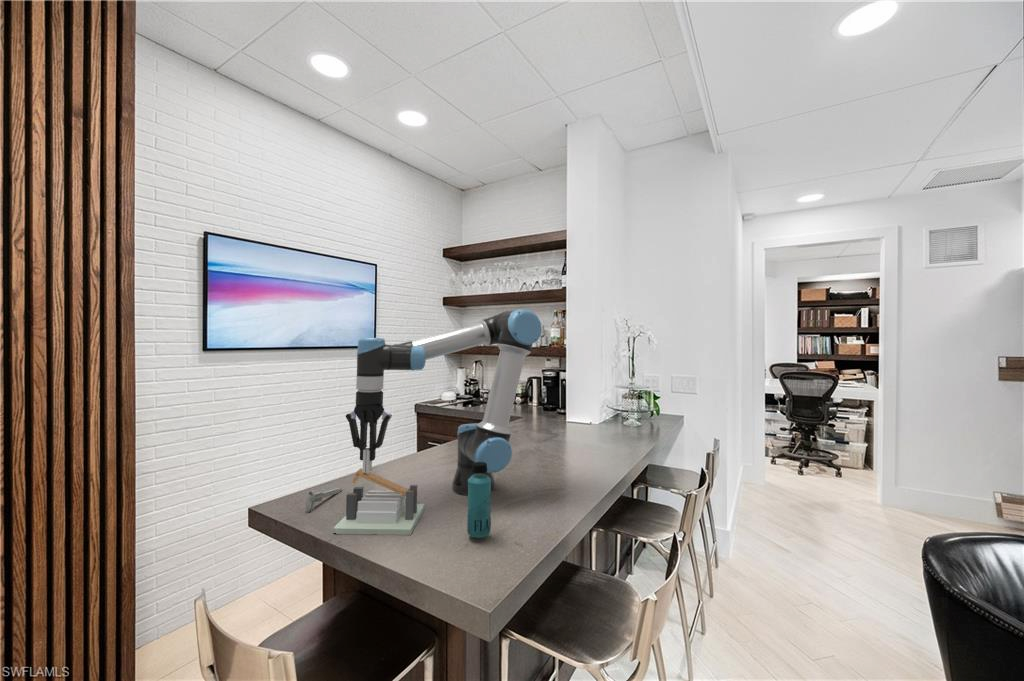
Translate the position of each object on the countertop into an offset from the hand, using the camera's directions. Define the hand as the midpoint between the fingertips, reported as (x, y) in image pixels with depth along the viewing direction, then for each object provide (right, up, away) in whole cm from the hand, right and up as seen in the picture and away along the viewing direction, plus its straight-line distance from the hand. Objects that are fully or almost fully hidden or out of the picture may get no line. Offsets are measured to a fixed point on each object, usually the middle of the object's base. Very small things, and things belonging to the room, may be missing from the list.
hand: (367, 471), depth 123 cm
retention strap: (+4, -6, 0) cm, 8 cm away
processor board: (+4, -14, 0) cm, 15 cm away
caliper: (-18, -15, +15) cm, 28 cm away
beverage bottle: (+33, -15, -10) cm, 38 cm away
